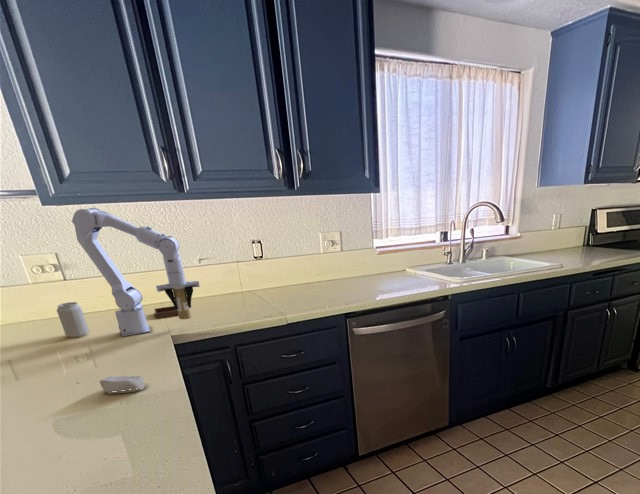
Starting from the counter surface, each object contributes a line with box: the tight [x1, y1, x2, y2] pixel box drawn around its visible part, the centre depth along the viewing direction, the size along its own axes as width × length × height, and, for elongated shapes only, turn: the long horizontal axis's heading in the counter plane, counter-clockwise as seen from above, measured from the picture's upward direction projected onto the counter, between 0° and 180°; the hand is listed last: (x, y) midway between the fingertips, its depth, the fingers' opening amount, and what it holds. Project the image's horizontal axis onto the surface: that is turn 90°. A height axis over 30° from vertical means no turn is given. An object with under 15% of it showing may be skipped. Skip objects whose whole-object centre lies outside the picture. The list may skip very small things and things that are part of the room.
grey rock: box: [99, 375, 146, 395], centre depth 115 cm, size 10×6×6 cm, turn 91°
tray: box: [154, 305, 179, 319], centre depth 184 cm, size 11×9×2 cm
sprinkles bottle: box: [172, 286, 192, 320], centre depth 161 cm, size 5×5×13 cm
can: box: [56, 301, 90, 339], centre depth 158 cm, size 8×8×12 cm
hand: (183, 308), depth 162 cm, fingers closed on sprinkles bottle, 4 cm apart
